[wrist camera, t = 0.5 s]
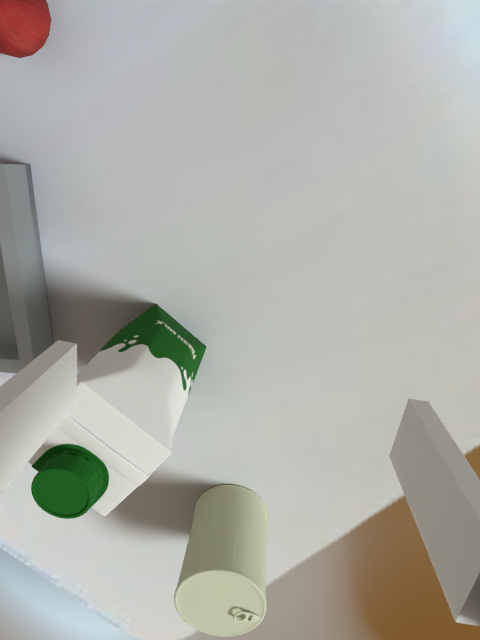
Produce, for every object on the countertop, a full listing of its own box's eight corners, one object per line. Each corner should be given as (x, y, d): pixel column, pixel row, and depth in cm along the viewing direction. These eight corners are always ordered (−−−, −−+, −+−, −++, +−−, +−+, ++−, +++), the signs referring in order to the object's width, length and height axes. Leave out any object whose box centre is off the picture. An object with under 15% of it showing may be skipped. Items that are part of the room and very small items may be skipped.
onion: (-13, 14, 35) (-90, -29, 28) (38, -30, 34) (-29, -88, 26) (31, 80, 37) (-31, 57, 29) (81, 40, 35) (29, 5, 28)
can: (251, 551, 53) (245, 653, 42) (184, 527, 53) (160, 623, 42) (280, 500, 50) (282, 595, 39) (209, 473, 50) (190, 561, 38)
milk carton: (104, 348, 45) (-16, 474, 26) (155, 290, 42) (62, 384, 24) (166, 399, 47) (94, 552, 28) (219, 345, 44) (179, 475, 25)
